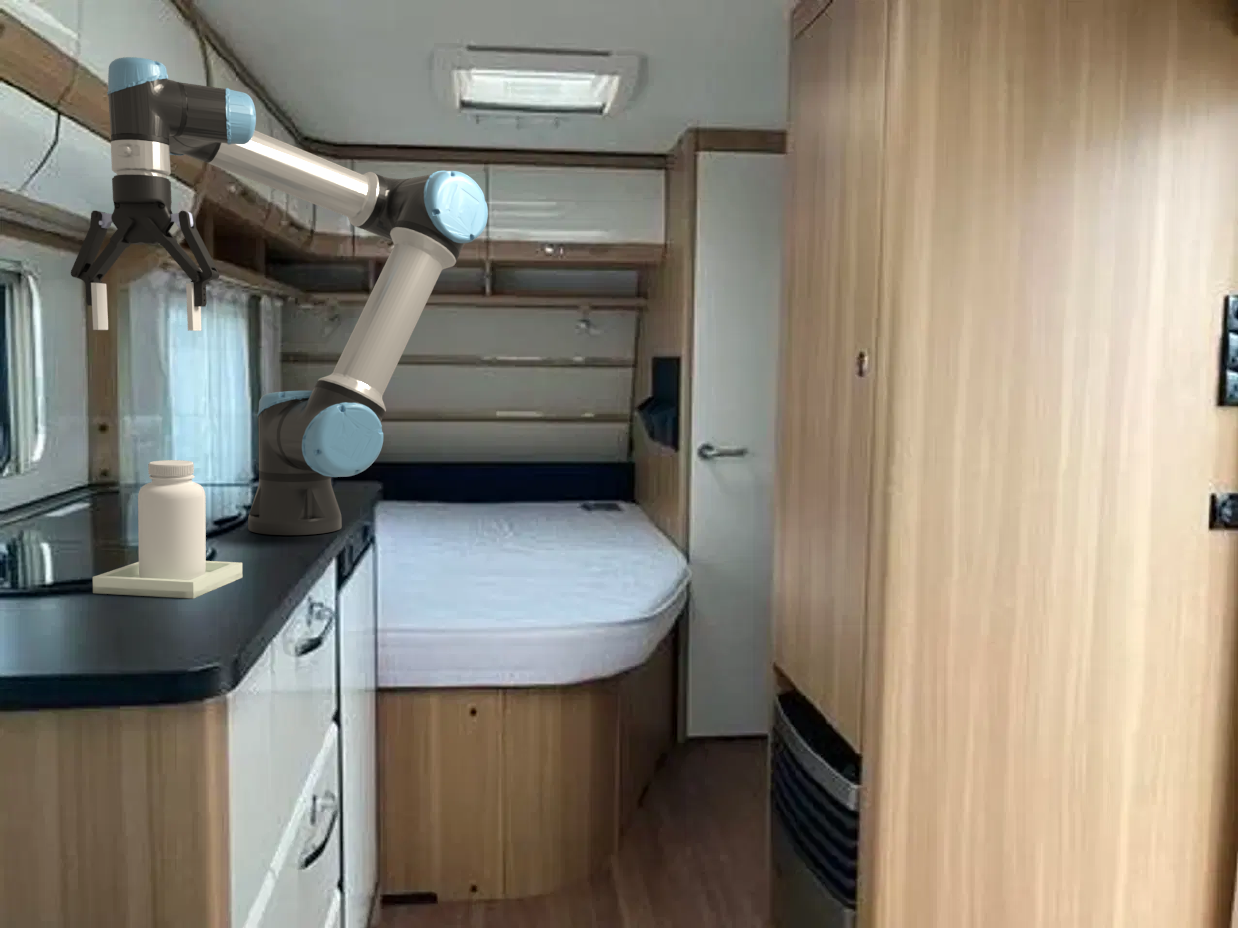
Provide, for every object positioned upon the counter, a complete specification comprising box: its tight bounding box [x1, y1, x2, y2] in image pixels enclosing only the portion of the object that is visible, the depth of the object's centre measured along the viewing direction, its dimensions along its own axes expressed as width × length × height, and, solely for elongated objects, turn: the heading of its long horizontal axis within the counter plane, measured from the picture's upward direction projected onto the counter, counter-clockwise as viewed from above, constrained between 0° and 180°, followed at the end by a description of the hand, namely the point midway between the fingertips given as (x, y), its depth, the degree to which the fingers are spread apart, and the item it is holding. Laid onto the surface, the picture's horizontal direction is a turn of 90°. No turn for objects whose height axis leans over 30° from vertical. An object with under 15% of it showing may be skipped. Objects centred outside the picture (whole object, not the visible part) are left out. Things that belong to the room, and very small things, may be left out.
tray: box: [92, 560, 243, 599], centre depth 141 cm, size 13×13×2 cm
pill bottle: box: [137, 459, 207, 580], centre depth 140 cm, size 8×8×15 cm
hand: (147, 330), depth 156 cm, fingers open, 13 cm apart
